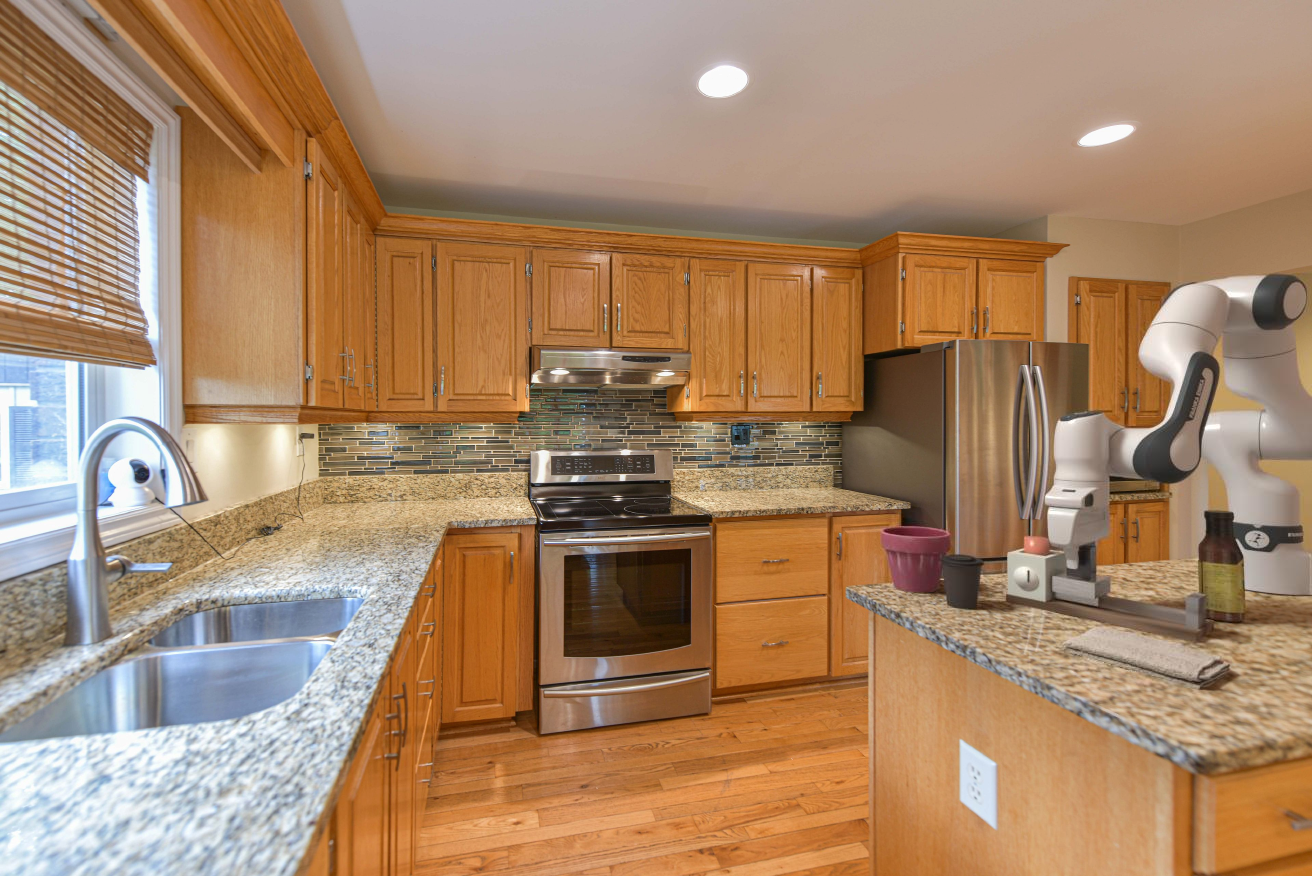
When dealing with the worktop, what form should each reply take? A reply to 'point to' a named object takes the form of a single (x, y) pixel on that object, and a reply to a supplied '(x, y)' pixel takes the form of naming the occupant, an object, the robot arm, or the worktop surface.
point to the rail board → (1135, 614)
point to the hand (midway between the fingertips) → (1081, 565)
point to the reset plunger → (1037, 545)
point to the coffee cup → (961, 580)
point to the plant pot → (915, 556)
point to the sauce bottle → (1221, 569)
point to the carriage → (1082, 580)
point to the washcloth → (1149, 656)
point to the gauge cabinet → (1033, 574)
